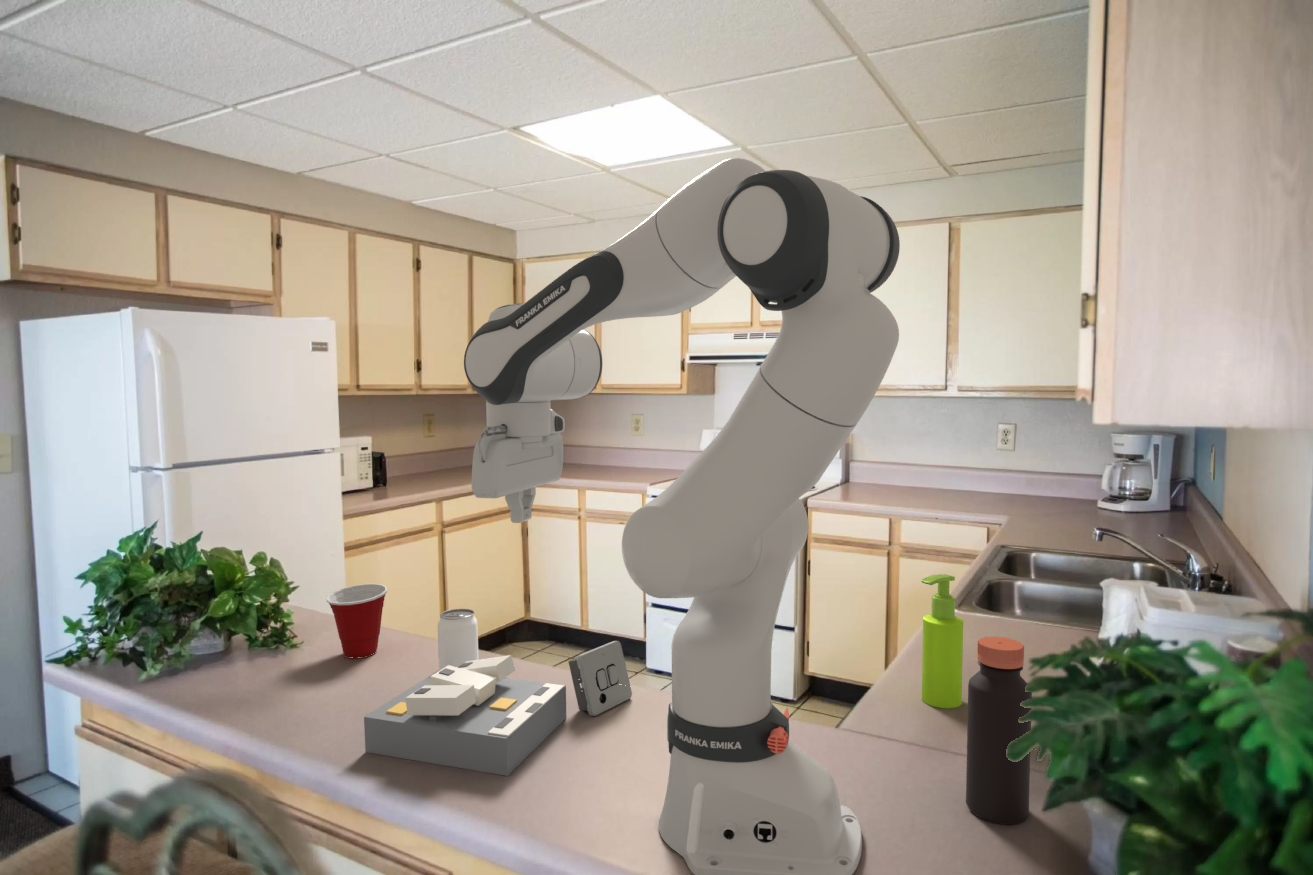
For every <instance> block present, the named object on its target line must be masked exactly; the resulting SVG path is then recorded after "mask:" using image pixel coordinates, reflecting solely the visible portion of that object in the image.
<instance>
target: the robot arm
mask: <svg viewBox="0 0 1313 875" xmlns="http://www.w3.org/2000/svg"><path fill="white" fill-rule="evenodd" d="M899 235H900V234H899V232H898V229H897V226H896V223H895V222H894V220H893V219H892V217H891V215H890V214H889V213H888V212H887V211H886V210H885V208H883V207H882V206H881V205H879V204H878V203H876V201H874V200H872V199H870V198H868V197H865V196H861V195H859V194H857V193H855V192H853V191H851V190H849V189H848V188H846V187H845V186H843V185H841V184H840V183H838V182H835V181H832V180H828V179H824V178H820V177H816V176H811V175H805V174H804V173H802V172H799V171H796V170H791V169H773V170H772V169H769V170H765V169H764V168H763V167H762V166H760V165H759V164H758V163H756V162H753V161H751V160H749V159H745V158H739V157H734V158H728V159H724V160H722V161H721V162H719V163H717V164H715V165H714V166H712V167H710V168H709V169H707V170H705V171H704V172H702V173H701V174H700V175H698V176H696V177H695V178H693V179H692V180H691V181H690V182H688V183H687V184H685V185H683V187H682V188H681V189H679V190H678V191H677V192H676V193H675V194H673V195H672V196H671V197H670V198H668V199H667V201H665V202H664V203H663V204H662V205H661V206H660V207H658V209H657V210H655V211H654V212H653V213H652V214H651V215H650V216H649V217H647V218H646V219H645V220H644V221H642V222H641V223H640V224H639V225H638V226H636V227H634V228H633V229H632V230H631V231H629V232H628V233H626V234H625V235H624V236H622V237H621V238H619V239H618V240H617V241H615V242H613V243H611V244H609V245H608V246H606V247H604V248H602V249H601V250H599V251H598V252H595V253H592V254H591V255H590V256H588V257H586V258H584V259H583V260H580V261H579V262H578V263H576V264H575V265H573V266H572V267H571V268H569V269H568V270H566V271H565V272H563V273H561V275H559V276H558V277H557V278H556V279H554V280H552V282H550V283H549V284H547V286H545V287H543V289H541V290H539V292H537V293H536V294H535V295H533V296H532V297H531V298H530V299H528V300H527V301H526V302H525V303H524V302H520V303H519V302H518V303H512V304H510V303H509V304H505V305H502V306H499V307H497V308H495V309H494V310H493V311H492V312H490V314H489V317H488V320H487V322H485V323H483V324H482V325H481V326H480V327H479V328H478V329H477V330H476V332H474V334H473V336H471V339H470V340H469V342H468V344H467V346H466V349H465V352H464V356H463V369H464V373H465V376H466V378H467V380H468V382H469V383H470V385H471V387H472V389H474V391H475V392H476V393H477V394H478V395H479V397H481V398H482V399H483V400H485V406H486V407H485V411H486V427H484V428H483V429H482V432H481V433H480V436H478V439H477V442H476V444H475V446H474V448H473V449H474V450H473V455H472V464H471V466H472V468H471V491H472V493H473V495H474V496H475V498H479V499H499V498H503V497H504V499H505V502H506V504H507V507H508V509H509V510H510V512H509V513H510V514H509V516H510V517H509V518H510V521H511V523H512V524H513V523H515V524H521V523H523V522H527V521H529V520H531V519H532V516H533V515H532V507H533V504H534V502H535V498H536V495H537V493H536V491H537V490H536V488H538V487H540V486H542V485H547V484H550V483H553V482H554V483H555V482H557V481H560V478H561V477H562V472H563V467H564V466H563V465H564V441H563V440H564V439H563V435H562V434H561V433H563V432H565V428H566V424H565V423H566V421H565V418H564V417H563V416H561V415H559V414H558V413H557V412H555V410H554V409H552V408H551V407H552V406H551V401H562V400H563V401H564V400H565V401H566V400H575V399H579V398H583V397H586V396H588V395H590V394H592V392H593V391H594V390H595V388H596V387H597V386H598V383H599V381H600V380H601V376H602V373H603V355H602V350H601V347H600V344H599V343H598V341H597V340H596V338H595V337H594V336H593V335H592V334H591V333H590V332H589V331H587V330H585V329H587V328H589V327H592V326H594V325H599V324H601V323H605V322H611V321H615V320H624V319H633V318H634V319H636V318H652V317H654V318H655V317H667V316H674V315H678V314H681V313H683V312H685V311H687V310H689V309H692V308H694V307H696V306H697V305H699V304H701V303H703V302H705V301H707V300H708V299H709V298H711V297H712V296H714V295H715V294H716V293H717V292H719V291H720V290H721V289H722V288H723V287H725V286H726V285H727V284H728V283H730V282H731V281H732V280H733V279H735V277H737V278H738V279H739V280H740V281H741V282H742V283H743V284H745V285H746V287H748V289H749V290H750V292H751V293H752V295H753V296H754V298H755V299H756V300H757V302H758V304H760V305H761V307H762V308H763V309H765V310H767V311H773V312H781V317H782V318H781V319H782V321H781V327H780V330H779V332H778V335H777V337H776V339H775V342H774V343H773V345H772V346H771V348H770V349H769V352H768V353H767V355H766V356H765V358H764V360H763V361H762V363H761V365H760V367H759V368H758V370H757V372H756V373H755V375H754V377H753V378H752V381H751V382H750V383H749V385H748V386H747V389H746V390H745V392H744V394H743V396H742V397H741V398H740V400H739V402H738V404H737V405H736V407H735V409H734V410H733V412H732V414H731V416H729V419H728V420H727V421H726V423H725V425H724V426H723V427H722V429H721V430H720V431H719V432H718V433H717V434H716V436H715V437H714V439H712V441H711V442H710V443H709V444H708V445H707V446H706V447H705V448H704V450H702V452H700V454H699V455H698V456H696V458H694V460H693V461H692V462H691V463H690V464H689V465H688V467H686V469H685V470H684V471H682V472H681V474H679V476H678V477H676V479H675V480H674V481H673V482H672V483H671V484H670V485H668V487H667V488H665V489H664V490H663V491H662V492H660V493H659V494H658V495H657V496H656V497H655V498H653V499H651V500H650V501H649V502H647V503H646V504H645V505H643V506H641V507H640V508H638V509H637V510H635V511H634V512H633V513H632V514H631V515H630V516H629V518H628V519H627V521H626V523H625V525H624V529H623V533H622V537H621V538H622V539H621V555H622V559H623V563H624V566H625V569H626V571H627V574H628V576H629V577H630V579H631V580H632V581H633V583H634V584H635V585H636V587H638V589H640V590H641V591H642V592H643V593H645V594H646V595H648V596H651V597H653V598H657V599H690V598H691V599H692V601H691V604H690V606H689V608H688V610H687V612H686V614H685V616H684V617H683V618H682V620H681V621H680V622H679V624H678V626H676V629H675V631H674V633H673V636H672V639H671V640H672V641H671V702H670V703H669V705H668V713H667V717H666V718H667V720H666V721H667V723H666V726H667V727H666V729H667V730H666V731H667V732H666V735H667V737H666V738H667V739H666V740H667V742H668V744H667V745H668V753H669V754H670V760H669V761H670V762H669V772H668V780H667V786H666V793H665V798H664V803H663V806H662V810H661V813H660V816H659V819H658V830H659V834H660V836H661V838H662V839H663V841H664V842H665V843H666V845H667V846H669V848H671V849H672V850H673V851H674V852H676V853H677V854H679V855H680V856H681V857H682V858H683V859H684V861H685V863H686V865H687V867H688V868H689V870H690V871H691V873H692V874H693V875H854V873H855V872H856V870H857V868H858V866H859V863H860V859H861V857H862V851H863V850H862V848H863V837H862V827H861V824H860V822H859V819H858V817H857V816H856V814H855V813H854V812H853V811H852V809H851V808H850V807H849V806H846V805H843V804H841V802H840V796H839V793H838V788H837V786H836V782H835V780H834V778H833V776H832V774H831V773H830V771H829V770H828V769H827V768H826V767H825V766H823V765H822V764H821V763H819V761H817V760H816V759H814V758H813V757H812V756H810V755H809V754H808V753H806V752H805V751H804V750H803V749H802V748H800V747H799V746H798V745H796V743H794V742H793V741H791V739H790V721H789V720H790V718H789V717H790V713H789V712H790V711H789V708H788V707H786V708H785V709H784V712H783V713H782V712H781V710H779V709H778V708H777V707H776V706H775V705H774V704H773V703H772V701H771V693H772V692H771V689H772V688H771V683H772V681H771V680H772V650H773V649H772V647H773V638H774V632H775V626H776V621H777V617H778V613H779V608H780V605H781V602H782V597H783V593H784V591H785V590H784V589H785V588H786V587H785V586H786V583H787V579H788V577H789V574H790V571H791V568H792V567H793V564H794V562H795V560H796V558H797V557H798V555H799V553H800V552H801V551H802V549H803V547H805V544H806V541H807V538H808V534H809V519H808V513H807V511H806V507H805V505H804V504H803V502H802V500H801V499H800V498H801V497H802V496H804V495H805V494H806V493H807V492H809V491H810V490H812V488H814V487H815V486H816V485H817V484H818V482H819V481H820V480H821V479H822V477H823V475H824V473H825V472H826V470H827V469H828V468H829V466H830V464H832V462H833V460H834V459H835V457H836V456H837V454H838V452H839V451H840V450H841V448H842V447H843V445H844V444H845V442H846V441H847V439H848V438H849V437H850V434H851V433H852V431H853V430H854V428H856V425H857V424H858V423H859V422H860V420H861V418H862V417H863V415H864V413H865V412H866V410H867V409H868V408H869V405H870V404H871V402H872V401H873V399H874V397H875V395H876V393H877V391H878V389H879V387H880V385H881V384H882V382H883V380H884V378H885V376H886V373H887V371H888V368H889V366H890V364H891V362H892V360H893V357H894V355H895V352H896V350H897V347H898V345H899V344H898V343H899V342H900V341H899V339H900V331H899V330H900V329H899V325H898V322H897V320H896V317H895V316H894V314H893V313H892V311H891V310H890V309H889V308H888V307H887V305H886V304H885V303H884V302H883V301H881V299H879V298H878V297H877V296H875V295H874V294H872V293H873V292H875V291H876V290H877V289H879V288H880V287H882V285H883V284H885V282H886V281H887V280H888V279H889V277H891V275H892V274H893V272H894V269H895V268H896V265H897V263H898V260H899V256H900V249H901V248H900V242H901V241H900V236H899Z"/></svg>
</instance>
